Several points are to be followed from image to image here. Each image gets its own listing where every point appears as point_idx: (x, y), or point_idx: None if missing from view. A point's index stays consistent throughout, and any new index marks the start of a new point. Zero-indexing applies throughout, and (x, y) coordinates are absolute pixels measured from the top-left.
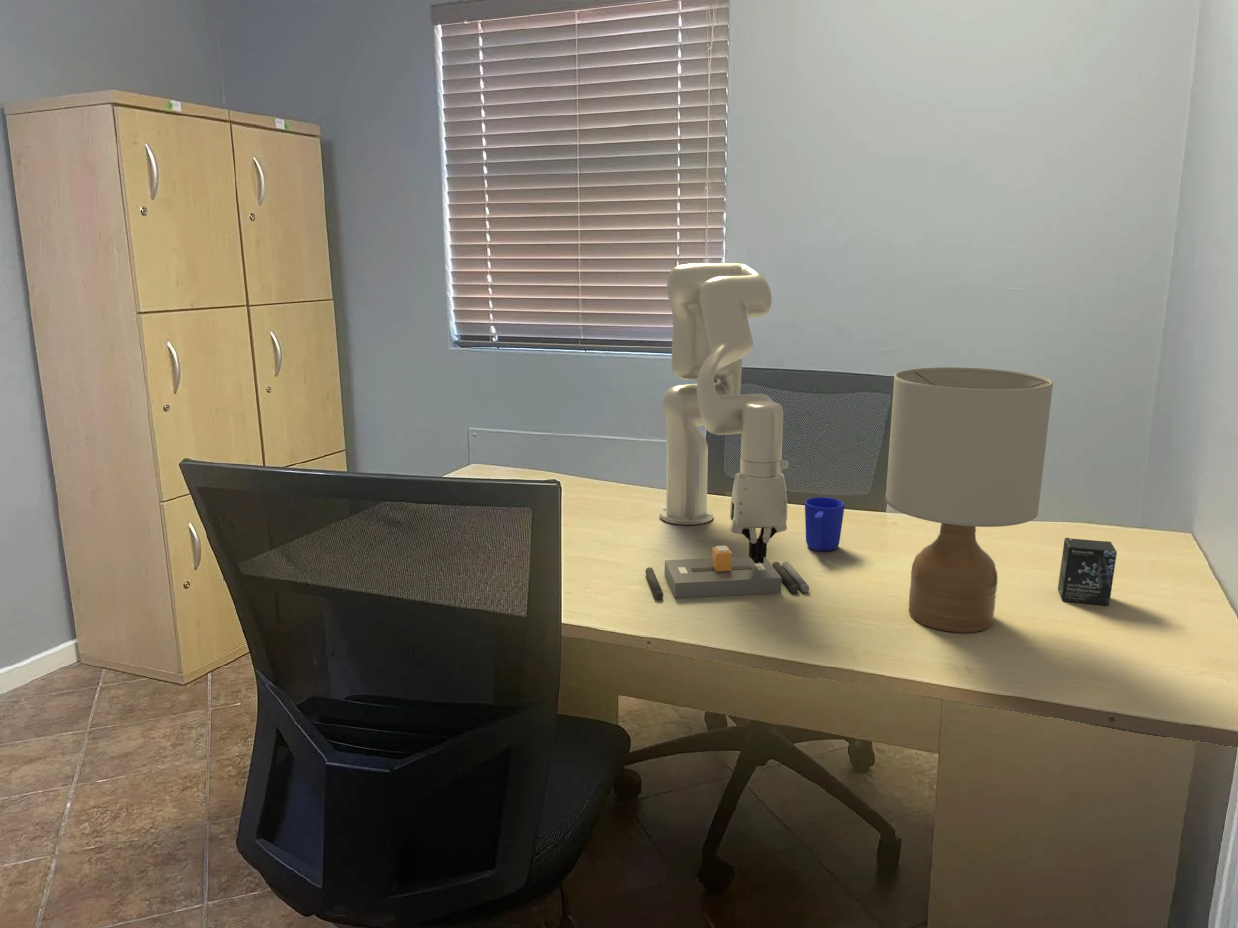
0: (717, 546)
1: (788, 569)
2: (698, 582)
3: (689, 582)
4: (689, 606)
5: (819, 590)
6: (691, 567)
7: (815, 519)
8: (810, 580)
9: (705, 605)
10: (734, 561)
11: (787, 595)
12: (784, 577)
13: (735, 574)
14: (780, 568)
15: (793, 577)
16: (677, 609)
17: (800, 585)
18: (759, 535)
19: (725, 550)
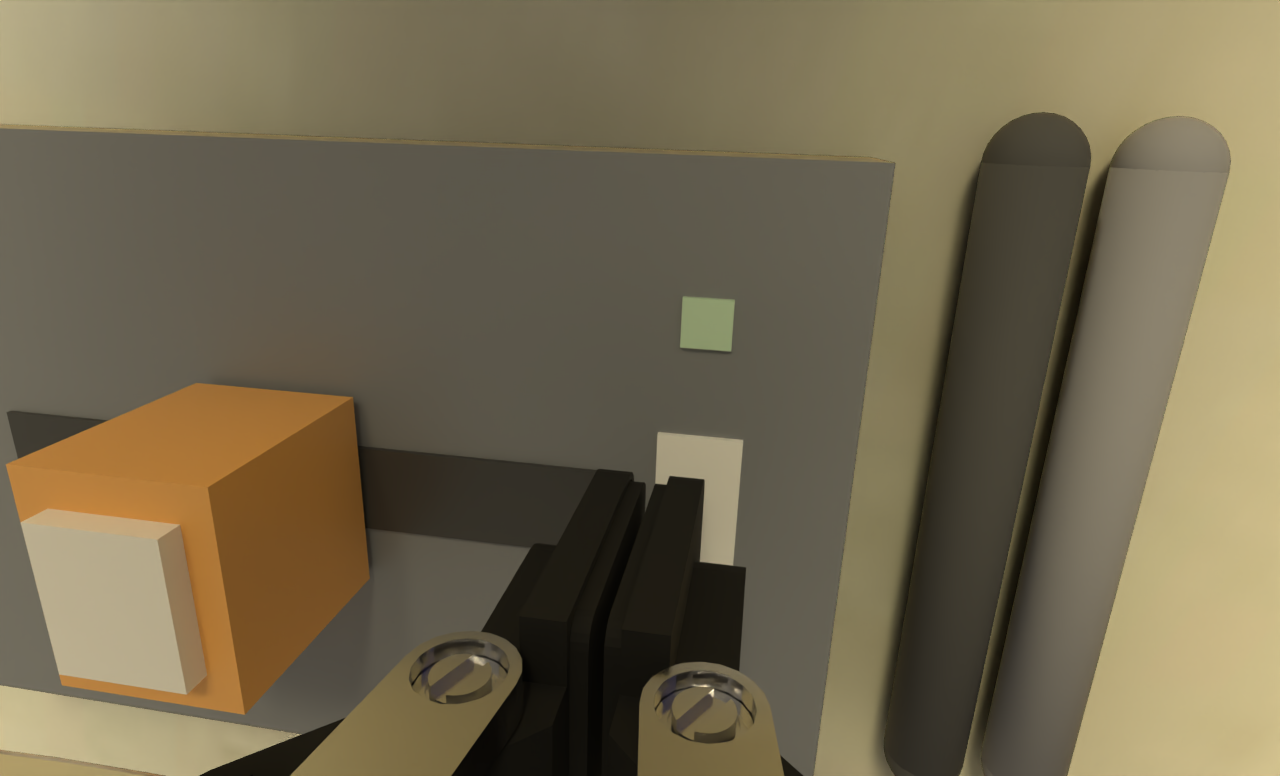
0: (45, 539)
1: (1088, 387)
2: (91, 695)
3: (23, 687)
4: (132, 727)
5: (1166, 737)
6: (15, 377)
7: None
8: (1229, 522)
9: (227, 740)
10: (455, 297)
11: (836, 750)
12: (929, 580)
13: (401, 636)
14: (993, 382)
15: (1032, 574)
16: (66, 744)
17: (995, 756)
18: (640, 707)
19: (150, 685)
